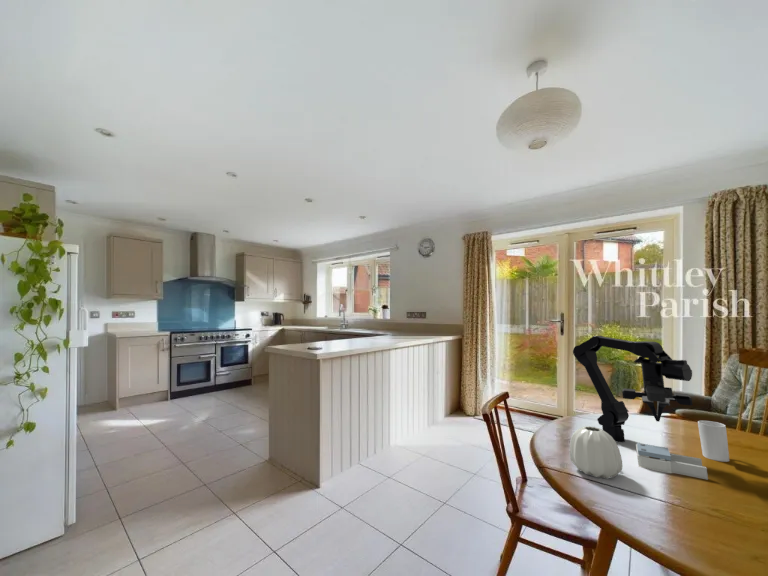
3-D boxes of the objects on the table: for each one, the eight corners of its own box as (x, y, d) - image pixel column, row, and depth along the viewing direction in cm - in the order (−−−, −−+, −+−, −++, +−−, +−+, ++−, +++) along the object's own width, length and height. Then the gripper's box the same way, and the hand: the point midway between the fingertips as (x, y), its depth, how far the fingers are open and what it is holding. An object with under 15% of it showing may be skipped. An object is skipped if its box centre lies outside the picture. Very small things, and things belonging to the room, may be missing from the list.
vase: (606, 487, 90) (602, 439, 92) (561, 468, 103) (558, 425, 104) (633, 477, 96) (628, 431, 97) (587, 459, 108) (584, 419, 110)
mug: (729, 466, 102) (724, 428, 103) (700, 459, 107) (695, 423, 109) (733, 457, 108) (728, 422, 109) (705, 451, 113) (701, 417, 115)
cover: (638, 454, 102) (637, 449, 102) (637, 446, 108) (636, 442, 108) (671, 460, 97) (670, 455, 97) (668, 451, 103) (667, 447, 104)
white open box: (639, 469, 101) (637, 456, 101) (636, 450, 115) (635, 439, 115) (709, 483, 91) (707, 469, 92) (696, 461, 105) (695, 449, 106)
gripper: (620, 377, 112) (625, 422, 111) (692, 382, 101) (698, 432, 99) (620, 373, 121) (624, 414, 119) (686, 377, 110) (692, 423, 108)
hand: (657, 421), depth 111 cm, fingers closed
